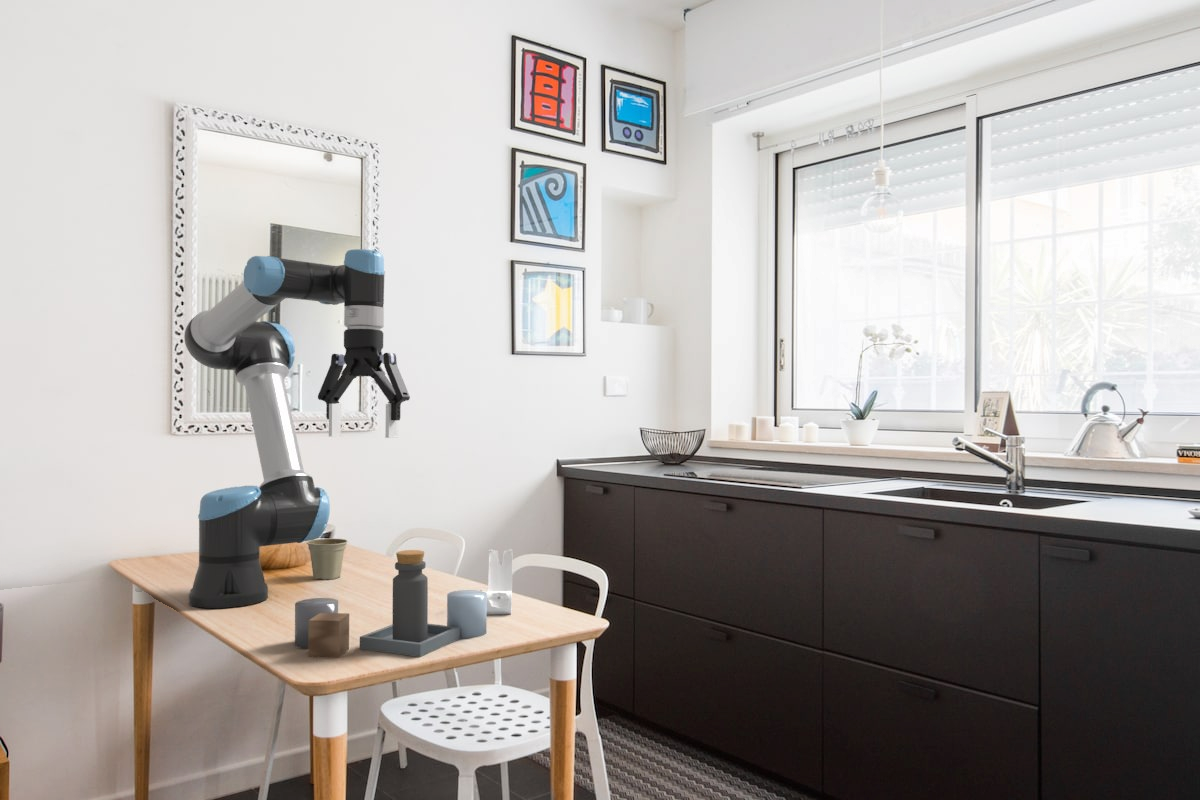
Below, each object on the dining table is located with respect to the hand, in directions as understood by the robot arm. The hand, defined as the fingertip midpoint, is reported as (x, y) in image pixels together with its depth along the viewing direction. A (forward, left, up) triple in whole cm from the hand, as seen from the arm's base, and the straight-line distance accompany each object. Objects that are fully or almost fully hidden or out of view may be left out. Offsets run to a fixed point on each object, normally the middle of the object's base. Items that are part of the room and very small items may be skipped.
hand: (362, 437), depth 169 cm
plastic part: (+22, +13, -35) cm, 43 cm away
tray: (+22, -15, -35) cm, 44 cm away
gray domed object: (+7, -21, -35) cm, 41 cm away
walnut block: (+13, -25, -35) cm, 45 cm away
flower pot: (-30, +26, -35) cm, 53 cm away
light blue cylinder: (+27, -5, -35) cm, 44 cm away
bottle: (+22, -15, -34) cm, 43 cm away
